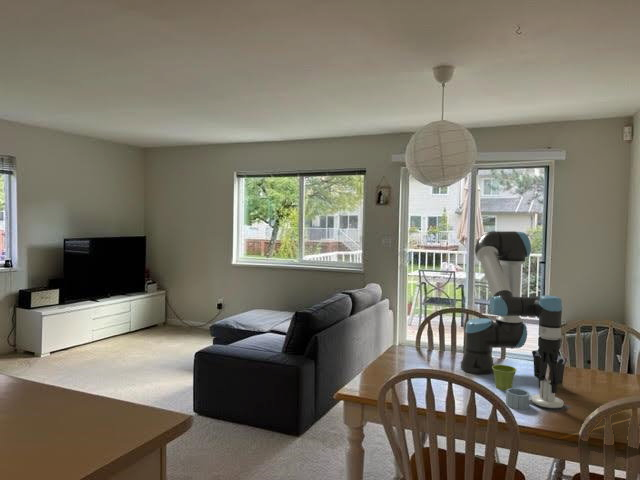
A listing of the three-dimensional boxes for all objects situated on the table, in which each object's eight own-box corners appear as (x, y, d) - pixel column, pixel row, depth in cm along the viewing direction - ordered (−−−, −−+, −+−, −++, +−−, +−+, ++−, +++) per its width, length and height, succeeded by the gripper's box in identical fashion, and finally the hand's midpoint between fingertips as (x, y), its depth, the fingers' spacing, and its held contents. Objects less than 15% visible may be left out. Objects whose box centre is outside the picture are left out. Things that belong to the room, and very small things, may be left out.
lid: (524, 399, 181) (525, 378, 180) (544, 395, 186) (545, 375, 185) (549, 410, 171) (550, 388, 171) (570, 405, 176) (571, 384, 175)
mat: (522, 402, 181) (522, 401, 181) (544, 397, 186) (544, 396, 186) (549, 414, 170) (550, 412, 170) (572, 408, 175) (572, 407, 175)
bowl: (501, 404, 179) (501, 390, 179) (516, 401, 182) (517, 387, 182) (518, 412, 172) (518, 397, 172) (534, 408, 175) (534, 394, 175)
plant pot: (514, 394, 189) (515, 373, 189) (489, 390, 194) (490, 369, 194) (517, 387, 198) (517, 367, 197) (493, 383, 202) (494, 363, 202)
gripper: (524, 333, 183) (522, 393, 184) (561, 343, 168) (559, 408, 169) (538, 331, 186) (536, 390, 187) (575, 341, 172) (573, 405, 173)
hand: (547, 399), depth 178 cm, fingers closed on lid, 3 cm apart
